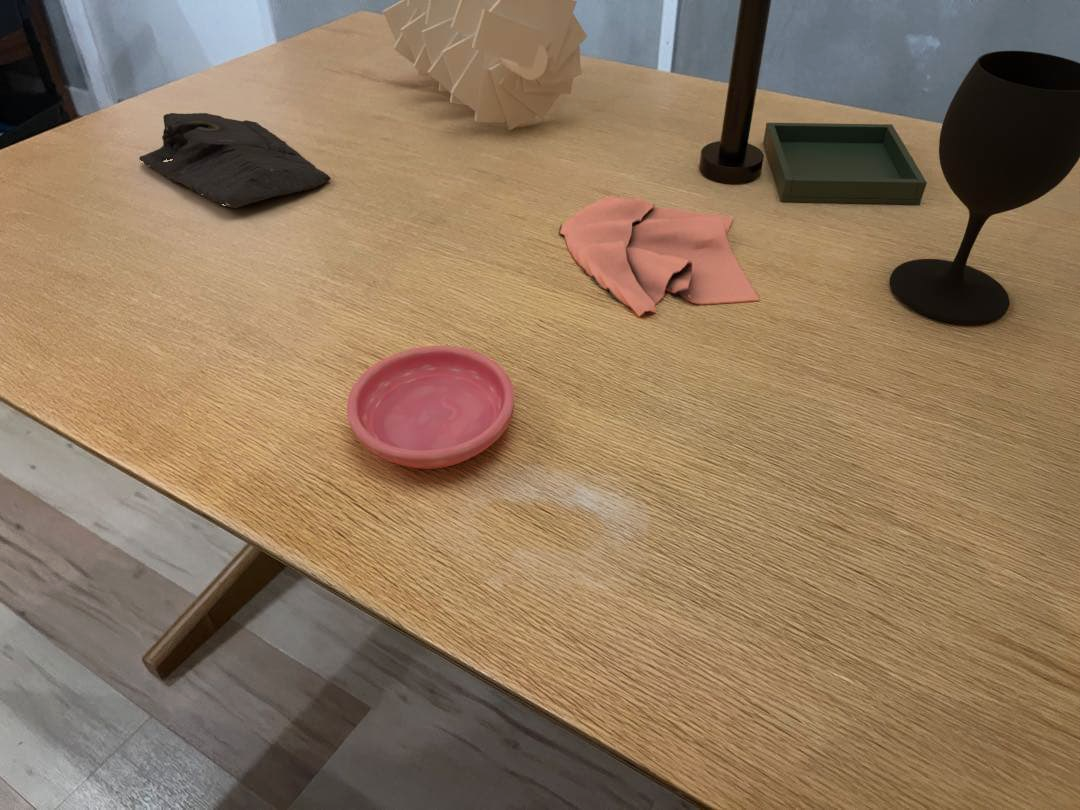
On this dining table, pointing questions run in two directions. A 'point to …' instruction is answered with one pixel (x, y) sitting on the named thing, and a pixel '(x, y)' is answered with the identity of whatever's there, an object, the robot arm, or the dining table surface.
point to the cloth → (656, 253)
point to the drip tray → (842, 164)
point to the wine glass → (996, 170)
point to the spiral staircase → (492, 52)
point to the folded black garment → (230, 160)
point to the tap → (740, 103)
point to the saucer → (431, 406)
